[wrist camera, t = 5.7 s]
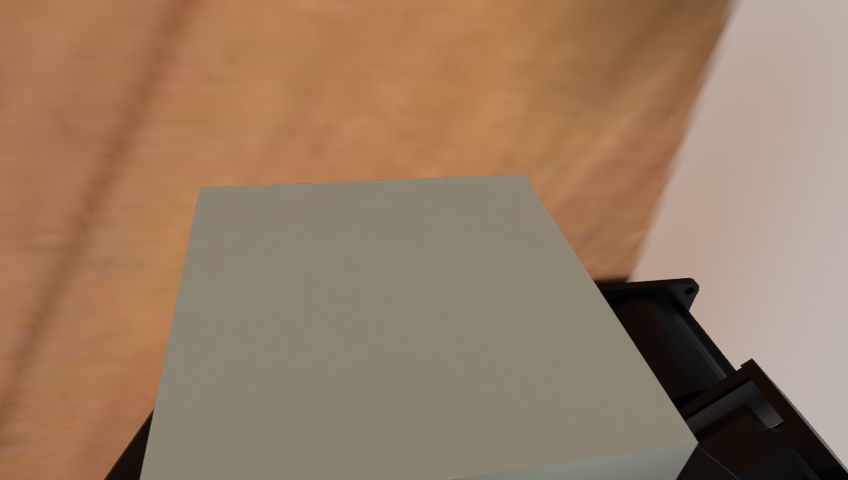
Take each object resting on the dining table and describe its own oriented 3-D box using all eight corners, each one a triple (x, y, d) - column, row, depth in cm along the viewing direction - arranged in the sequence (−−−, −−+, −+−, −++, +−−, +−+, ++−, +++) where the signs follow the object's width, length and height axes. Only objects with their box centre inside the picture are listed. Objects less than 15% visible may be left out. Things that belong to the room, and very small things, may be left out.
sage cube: (524, 174, 9) (698, 442, 5) (483, 375, 12) (576, 641, 8) (199, 187, 8) (128, 527, 4) (240, 403, 11) (220, 718, 7)
